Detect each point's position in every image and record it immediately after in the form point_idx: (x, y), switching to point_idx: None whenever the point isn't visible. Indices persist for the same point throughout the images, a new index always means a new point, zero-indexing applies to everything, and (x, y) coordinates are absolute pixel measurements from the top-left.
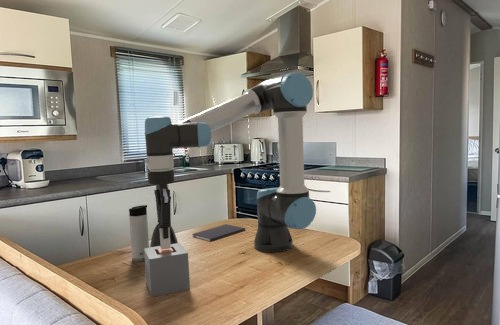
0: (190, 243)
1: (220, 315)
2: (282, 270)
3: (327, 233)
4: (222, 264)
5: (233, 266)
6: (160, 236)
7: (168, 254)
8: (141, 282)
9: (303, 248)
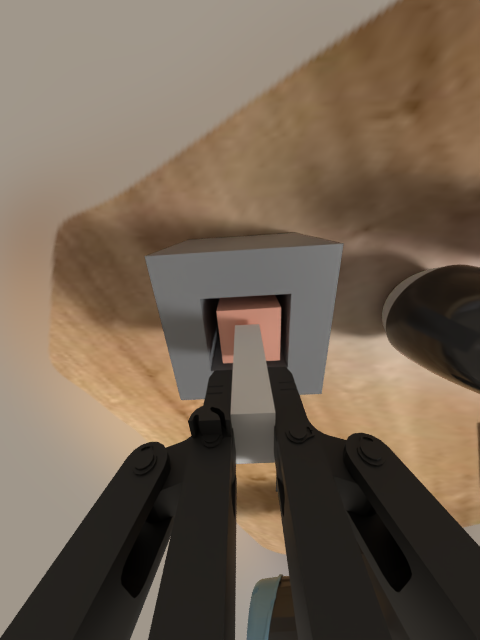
0: None
1: (68, 359)
2: None
3: None
4: (311, 411)
5: None
6: (245, 363)
7: (187, 340)
8: (309, 217)
9: None
